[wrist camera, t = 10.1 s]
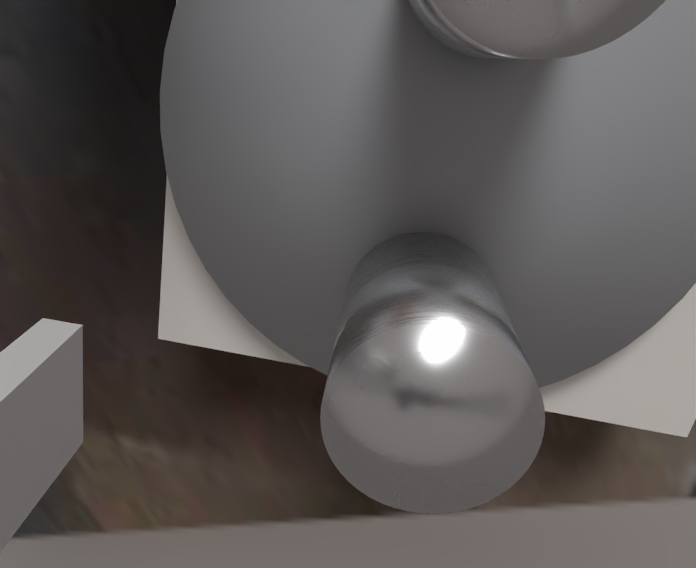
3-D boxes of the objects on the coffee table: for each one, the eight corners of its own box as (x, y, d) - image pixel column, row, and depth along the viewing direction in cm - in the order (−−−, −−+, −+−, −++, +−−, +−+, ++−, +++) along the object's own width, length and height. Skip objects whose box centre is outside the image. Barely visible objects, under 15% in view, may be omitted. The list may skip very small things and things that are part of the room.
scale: (198, 298, 27) (147, 361, 21) (237, -191, 20) (177, -284, 15) (632, 379, 27) (695, 464, 21) (818, -89, 20) (980, -145, 15)
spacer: (358, 219, 19) (338, 304, 12) (513, 246, 19) (574, 347, 12) (334, 355, 21) (306, 492, 14) (475, 381, 21) (511, 531, 14)
